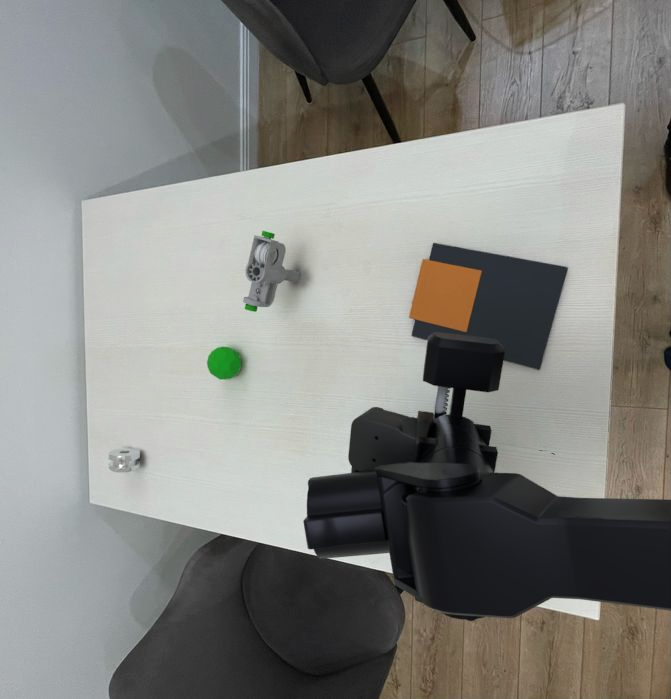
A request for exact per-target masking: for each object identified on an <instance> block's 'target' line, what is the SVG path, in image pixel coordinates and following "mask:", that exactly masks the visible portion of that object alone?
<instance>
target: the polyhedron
mask: <svg viewBox="0 0 671 699" xmlns="http://www.w3.org/2000/svg"><path fill="white" fill-rule="evenodd" d="M206 365H207V369H208V372H209V373H210V375H212V376H213V377H215V378H217V379H218V380H232V379H233V378H234V377H235V376H236V375H237V376H238V373H239V372H240V371H241V367H242V359H241V356H240V354H239V352H238V351H236V350H235V349H233V348H232V347H230V346H219V347H216V348H215V349H213V350H212V351H211V352H210V353H209V355H208V356H207V360H206Z"/></svg>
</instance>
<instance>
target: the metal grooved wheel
mask: <svg viewBox="0 0 671 699" xmlns="http://www.w3.org/2000/svg"><path fill="white" fill-rule="evenodd" d="M140 458H141V450H140V449H138V448H134V447H122V448H116V449H111V450H110V451H109V452H108V460H109V461H110V462H108V469H109V471H111V472H114V473H120V474H121V473H130V472H134V471H137V470H138V469H139V468H140V467H141V461H140V460H138V459H140Z"/></svg>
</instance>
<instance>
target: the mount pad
mask: <svg viewBox="0 0 671 699" xmlns="http://www.w3.org/2000/svg"><path fill="white" fill-rule="evenodd" d="M568 269H569V267H567V266H564V265H559V264H558V265H557V264H553V263H547V262H541V261H535V260H530V259H524V258H521V257H514V256H508V255H504V254H503V255H502V254H498V253H491V252H486V251H481V250H475V249H470V248H465V247H458V246H453V245H448V244H443V243H442V244H441V243H437V242H433V243H432V246H431V251H430V254H429V259H425V258H422V260H421V265H420V268H419V273H418V276H417V277H418V278H417V280H416V286H415V290H414V293H413V294H414V295H413V299H412V302H411V307H410V312H409V316H408V318H409V319H412V320H414V322H413V326H412V332H411V334H410V335H411V337H414V338H418V339H422V340H425V341H427V340H428V337H429V336H430V335H432V334H433V333H434V332H442V333H451V334H460V335H469V336H477V337H486V338H495V339H497V340H498V341H499V343H500V344H501V345H502V347H503V348H504V350H505V355H504V361H505V362H508V363H513V364H516V365H520V366H523V367H527V368H531V369H534V370H541V366H542V363H543V360H544V359H543V358H544V355H545V351H546V348H547V344H548V341H549V338H550V333H551V330H552V327H553V323H554V320H555V316H556V315H555V314H556V312H557V308H558V305H559V301H560V298H561V294H562V291H563V287H564V284H565V279H566V277H567V273H568ZM504 361H503V362H504Z"/></svg>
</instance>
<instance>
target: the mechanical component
mask: <svg viewBox="0 0 671 699" xmlns="http://www.w3.org/2000/svg"><path fill="white" fill-rule="evenodd" d="M275 235H276V234H275V233H273V232H270V231H266V230H262V231H261V235H256V234H254V236H253V240H252V244H251V249H250V254H249V258H248V262H247V263H246V264H247V265H246V266H245V277H246V278H247V281H249V282H251V284H250V288H249V292H248V296H243V300H242V302H243V303H244V304H245V305H244V310H246V311H249V312H255V313H256V312H258V307H259V308H269V307H270V306H271V305H272V304H273V303H274V301H275V297H276V292H277V288H278V285H279V284H280V285H281V284H282V283H284V282H293V283H296V282H299V281H300V280H301V278H302V275H301V273H300V272H299V271H297V270H293V269H286V268H285V266H283V264H284V259H285V255H286V246H285V244H284V243H282V242H279V240H274V239H275Z"/></svg>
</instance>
